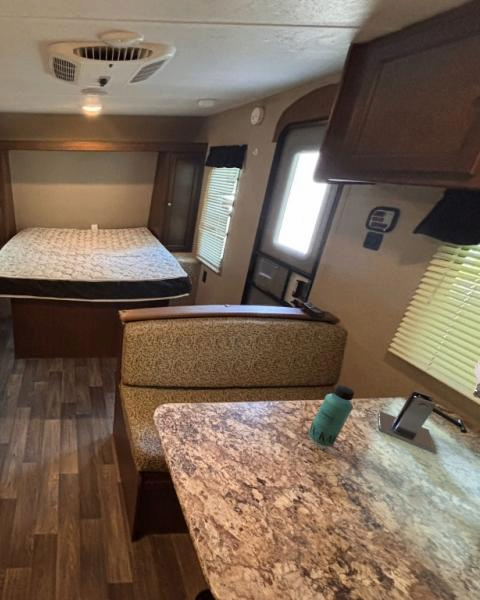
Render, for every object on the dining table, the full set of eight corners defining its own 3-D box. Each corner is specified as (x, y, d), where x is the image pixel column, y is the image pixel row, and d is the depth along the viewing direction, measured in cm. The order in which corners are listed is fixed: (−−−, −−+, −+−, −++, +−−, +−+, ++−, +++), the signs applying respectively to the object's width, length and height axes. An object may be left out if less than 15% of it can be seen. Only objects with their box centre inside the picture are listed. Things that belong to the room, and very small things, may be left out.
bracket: (427, 432, 99) (450, 398, 94) (431, 452, 92) (457, 416, 87) (377, 413, 106) (396, 380, 101) (378, 430, 99) (398, 396, 93)
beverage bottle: (309, 429, 98) (334, 377, 90) (335, 443, 93) (363, 390, 85) (302, 440, 94) (327, 386, 86) (328, 455, 89) (357, 400, 81)
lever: (458, 425, 92) (466, 420, 91) (462, 435, 89) (470, 430, 87) (411, 396, 97) (418, 392, 96) (413, 405, 94) (420, 400, 92)
